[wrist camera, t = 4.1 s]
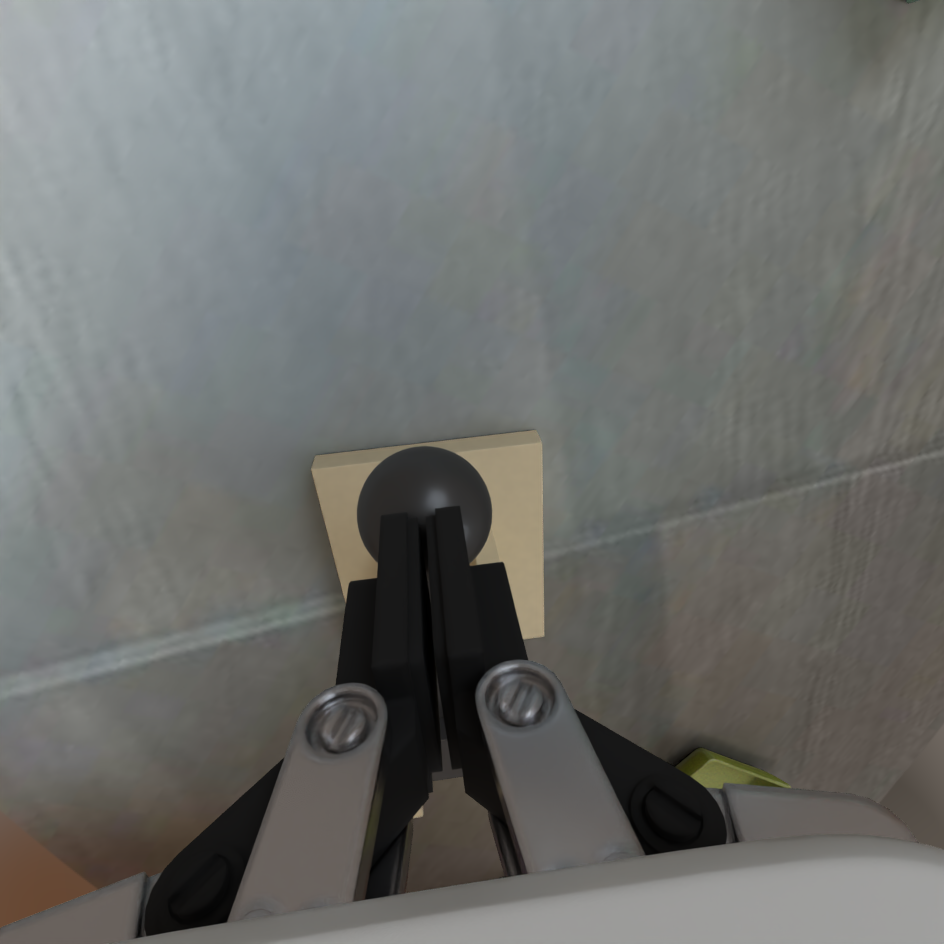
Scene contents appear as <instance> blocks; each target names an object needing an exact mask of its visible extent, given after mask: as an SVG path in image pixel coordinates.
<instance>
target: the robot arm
mask: <svg viewBox="0 0 944 944" xmlns="http://www.w3.org/2000/svg"><path fill="white" fill-rule="evenodd" d="M426 532H427V548H428V565H429V581H430V594H429V588H428V581H427V574H426V568H425V561H424V555H423V548H422V541H421V535H420V528H419V522H418V518H409V519H408V514H407V512H403V513H394V514H386V515H381V520H380V536H379V553H378V569H377V578H372V579H364V580H356V581H350V583H349V586H348V592H347V599H346V607H345V615H344V623H343V631H342V639H341V647H340V655H339V662H338V670H337V678H336V686H334V687H331V688H329V689H326V690H324V691H323V692H322V693H320V694H319V695H317V696H316V697H314V698H313V699H312V700H311V701H310V702H309V704H308V705H307V706H306V707H305V708H304V709H303V711H302V713H301V715H300V717H299V719H298V721H297V723H296V726H295V729H294V732H293V735H292V738H291V741H290V743H289V746H288V749H287V752H286V755H285V757H284V758H283V759H282V760H281V761H280V762H279V763H278V764H277V765H276V766H274V767H273V768H272V769H271V770H270V771H269V772H268V773H267V774H266V775H265V776H264V777H262V778H261V779H260V780H259V781H258V782H257V783H256V784H255V785H254V786H253V787H251V788H250V789H249V790H248V791H247V792H246V793H245V794H244V795H243V796H242V797H240V798H239V799H238V800H237V801H236V802H235V803H234V804H233V805H232V806H231V807H229V808H228V809H227V810H226V811H225V812H224V813H223V814H222V815H221V816H220V817H218V818H217V819H216V820H215V821H214V822H213V823H212V824H211V825H210V826H209V827H208V828H206V829H205V830H204V831H203V832H202V833H201V834H200V835H199V836H198V837H197V838H195V839H194V840H193V841H192V842H191V843H190V844H189V845H188V846H187V847H186V848H184V849H183V850H182V851H181V852H180V853H179V854H178V855H177V856H176V857H175V858H174V859H173V860H172V862H171V863H170V864H169V865H168V866H167V867H166V868H165V869H164V870H163V872H162V873H159V874H156V875H154V876H151V877H148V876H147V874H146V873H145V872H143V873H140V874H137V875H135V876H132V877H130V878H127V879H124V880H122V881H119V882H117V883H114V884H112V885H109V886H106V887H104V888H101V889H99V890H96V891H94V892H91V893H89V894H86V895H83V896H81V897H78V898H76V899H73V900H71V901H68V902H65V903H63V904H60V905H58V906H55V907H52V908H50V909H47V910H45V911H42V912H39V913H37V914H34V915H32V916H29V917H27V918H24V919H21V920H19V921H16V922H14V923H11V924H9V925H6V926H3V927H1V928H0V944H944V849H940V848H937V847H933V846H930V845H926V844H922V843H919V842H918V841H917V839H916V838H915V836H914V835H913V834H912V832H911V831H910V829H909V828H908V826H907V825H906V824H905V823H904V822H903V821H902V820H901V819H900V818H898V817H897V816H896V815H895V814H894V813H893V812H892V811H890V810H889V809H888V808H886V807H884V806H882V805H881V804H879V803H877V802H875V801H873V800H871V799H870V798H866V797H862V796H858V795H854V794H850V793H839V792H827V791H816V790H804V789H793V788H781V787H770V786H758V785H747V784H735V783H724V784H723V787H722V789H718V788H707V787H704V786H703V785H701V784H700V783H699V782H697V781H696V780H695V779H693V778H692V777H691V776H689V775H687V774H686V773H684V772H682V771H680V770H679V769H677V768H675V767H674V766H672V765H670V764H668V763H667V762H665V761H663V760H662V759H660V758H658V757H656V756H655V755H653V754H651V753H649V752H648V751H646V750H644V749H643V748H641V747H639V746H637V745H636V744H634V743H632V742H631V741H629V740H627V739H625V738H624V737H622V736H620V735H619V734H617V733H615V732H613V731H612V730H610V729H608V728H606V727H605V726H603V725H601V724H600V723H598V722H596V721H594V720H593V719H591V718H589V717H588V716H586V715H584V714H582V713H581V712H579V711H577V710H576V709H574V708H573V706H572V704H571V701H570V699H569V697H568V695H567V693H566V691H565V689H564V687H563V685H562V683H561V682H560V680H559V679H558V678H557V676H556V675H555V674H554V673H553V672H552V671H551V670H549V669H548V668H547V667H545V666H544V665H541V664H538V663H536V662H533V661H528V658H527V654H526V650H525V646H524V642H523V637H522V633H521V629H520V625H519V621H518V617H517V613H516V609H515V605H514V601H513V597H512V593H511V589H510V584H509V580H508V576H507V572H506V568H505V565H504V562H496V563H488V564H481V565H473V566H470V565H469V559H468V553H467V546H466V540H465V534H464V528H463V521H462V515H461V509H460V506H452V507H443V508H435V515H434V516H426ZM430 597H431V601H430ZM437 679H438V685H439V691H440V698H441V704H442V710H443V716H444V723H445V729H446V735H447V742H448V748H449V754H450V761H451V767H452V770H455V769H462V772H463V779H464V786H465V793H466V794H468V795H469V796H470V797H472V798H473V799H474V800H475V801H477V802H478V803H479V804H481V805H482V806H483V807H484V808H486V809H487V810H488V817H489V822H490V825H491V829H492V832H493V836H494V840H495V843H496V847H497V850H498V854H499V858H500V861H501V865H502V868H503V872H504V876H505V878H499V879H493V880H487V881H480V882H474V883H468V884H462V885H455V886H449V887H443V888H436V889H430V890H424V891H418V892H412V893H406V886H407V878H408V870H409V861H410V853H411V845H412V837H413V817H414V815H415V814H416V813H417V812H418V811H419V809H420V808H421V807H422V806H423V805H424V803H425V802H426V801H427V800H428V799H429V794H428V793H431V792H433V785H432V773H435V772H441V771H443V765H442V749H441V733H440V718H439V702H438V686H437Z"/></svg>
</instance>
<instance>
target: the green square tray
mask: <svg viewBox="0 0 944 944" xmlns="http://www.w3.org/2000/svg"><path fill="white" fill-rule="evenodd" d="M675 768H677V769H679V770H680V771H682V772H684V773H686V774H687V775H689V776H691V777H692V778H693V779H695V780H696V781H697V782H699V783H700V784H701V785H703V786H704V787H707V788H718V789H722V787H723V784H724V783H735V784H747V785H758V786H770V787H781V788H791V786H790V785H788V784H787V783H785V782H784V781H782V780H781V779H779V778H777V777H775V776H773V775H771V774H769V773H767V772H765V771H763V770H760V769H758V768H755V767H752V766H750V765H747V764H744V763H741V762H739V761H736V760H733V759H730V758H728V757H725V756H722V755H720V754H717V753H714V752H712V751H709V750H706V749H704V748H698V749H696V750H695V751H693V752H692V753H691V754H690V755H689V756H688V757H686V758H685V759H684V760H683V761H682V762H680V763H679V764H678V765H677V766H675Z"/></svg>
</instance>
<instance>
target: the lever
mask: <svg viewBox="0 0 944 944" xmlns="http://www.w3.org/2000/svg"><path fill="white" fill-rule="evenodd" d="M452 506H460V509H461V515H462V521H463V528H464V534H465V540H466V546H467V553H468V559H469V564H470V563H471V562H472V561H473V560H474V559H475V558H476V557H477V556H478V554H479V553H480V552H481V550H482V549H483V547H484V545H485V543H486V541H487V539H488V536H489V533H490V529H491V524H492V504H491V498H490V495H489V491H488V488H487V486H486V484H485V482H484V480H483V478H482V477H481V475H480V474H479V473H478V471H477V470H476V469H475V468H474V467H473V466H472V465H471V464H470V463H469V462H468V461H467V460H465V459H464V458H463V457H461V456H459V455H458V454H456V453H454V452H452V451H449V450H446V449H443V448H438V447H432V446H417V447H411V448H407V449H404V450H401V451H399V452H396V453H394V454H392V455H390V456H389V457H387V458H386V459H384V460H383V461H382V462H381V463H380V464H378V465H377V466H376V467H375V468H374V470H373V471H372V472H371V473H370V475H369V476H368V478H367V479H366V481H365V483H364V485H363V487H362V490H361V492H360V495H359V499H358V505H357V524H358V529H359V534H360V536H361V539H362V541H363V544H364V546H365V547H366V549H367V551H368V552H369V554H370V555H371V556H372V558H373V559H374V560H375V561H376V562H377V563H378V553H379V536H380V520H381V515H386V514H394V513H403V512H407V514H408V519H409V518H418V522H419V528H420V535H421V541H422V548H423V555H424V561H425V568H426V574H427V581H428V588H429V594H430V581H429V565H428V548H427V532H426V516H434V515H435V508H443V507H452ZM430 601H431V597H430ZM437 686H438V702H439V718H440V733H441V749H442V765H443V771H441V772H435V773H432V780H433V781H436V780H443V779H450V778H456V777H463V772H462V769H455V770H452V767H451V761H450V754H449V748H448V742H447V735H446V729H445V723H444V716H443V710H442V704H441V698H440V691H439V685H438V679H437Z"/></svg>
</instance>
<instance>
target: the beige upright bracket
mask: <svg viewBox="0 0 944 944" xmlns="http://www.w3.org/2000/svg"><path fill="white" fill-rule="evenodd" d="M417 446H432V447H438V448H443V449H446V450H449V451H452V452H454V453H456V454H458V455H459V456H461V457H463V458H464V459H465V460H467V461H468V462H469V463H470V464H471V465H472V466H473V467H474V468H475V469H476V470H477V471H478V473H479V474H480V475H481V477H482V478H483V480H484V482H485V484H486V486H487V488H488V491H489V495H490V498H491V504H492V524H491V529H490V533H489V536H488V539H487V541H486V543H485V545H484V547H483V549H482V550H481V552H480V553H479V554H478V556H477V557H476V558H475V559H474V560H473V561H472V562H471V563H470V564H469V565H470V566H473V565H481V564H488V563H496V562H504V565H505V568H506V572H507V576H508V580H509V584H510V589H511V593H512V597H513V601H514V605H515V609H516V613H517V617H518V621H519V625H520V629H521V633H522V637H523V639H530V638H537V637H544V568H543V473H542V442H541V439H540V437H539V435H538V433H537V431H536V430H531V431H522V432H514V433H505V434H496V435H488V436H479V437H471V438H462V439H453V440H445V441H436V442H427V443H419V444H410V445H402V446H393V447H384V448H376V449H367V450H358V451H350V452H341V453H332V454H324V455H316V456H315V458H314V461H313V465H312V468H311V472H312V476H313V479H314V483H315V487H316V491H317V495H318V499H319V502H320V506H321V510H322V514H323V518H324V522H325V526H326V529H327V533H328V537H329V541H330V545H331V549H332V553H333V556H334V560H335V564H336V568H337V572H338V576H339V580H340V583H341V587H342V591H343V595H344V599H345V603H346V599H347V592H348V586H349V583H350V581H356V580H364V579H372V578H377V569H378V563H377V562H376V561H375V560H374V559H373V558H372V556H371V555H370V554H369V552H368V551H367V549H366V547H365V546H364V544H363V541H362V539H361V536H360V534H359V529H358V524H357V505H358V499H359V495H360V492H361V490H362V487H363V485H364V483H365V481H366V479H367V478H368V476H369V475H370V473H371V472H372V471H373V470H374V468H375V467H376V466H377V465H378V464H380V463H381V462H382V461H383V460H384V459H386V458H387V457H389V456H390V455H392V454H394V453H396V452H399V451H401V450H404V449H407V448H411V447H417ZM422 816H423V806H422V807H421V808H420V809H419V811H418V812H417V813H416V814H415V815H414V817H413V818H417V817H422Z"/></svg>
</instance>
